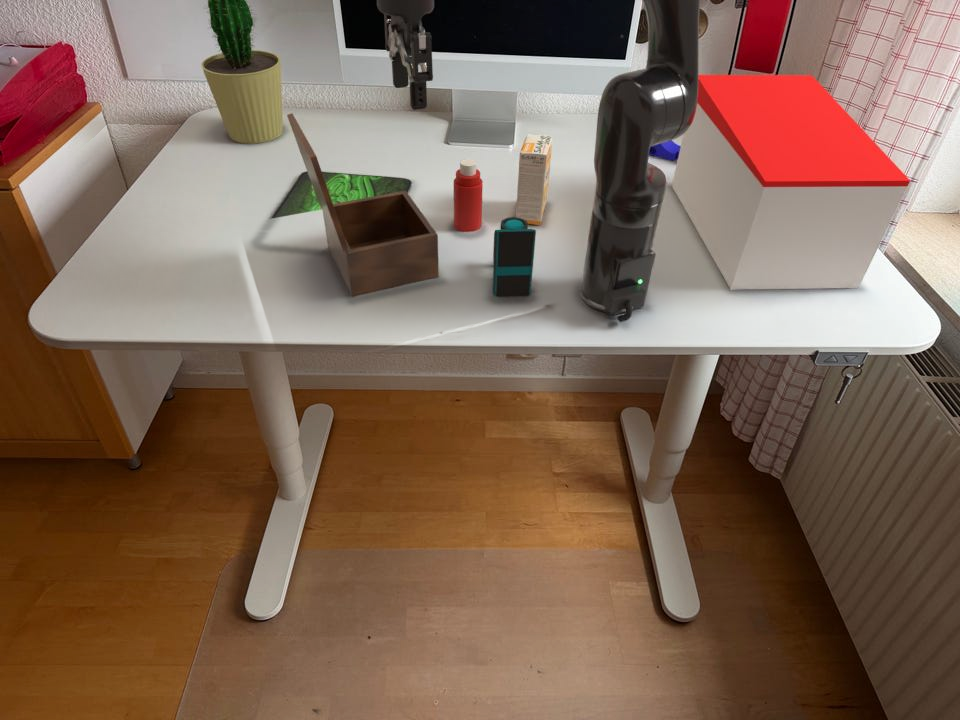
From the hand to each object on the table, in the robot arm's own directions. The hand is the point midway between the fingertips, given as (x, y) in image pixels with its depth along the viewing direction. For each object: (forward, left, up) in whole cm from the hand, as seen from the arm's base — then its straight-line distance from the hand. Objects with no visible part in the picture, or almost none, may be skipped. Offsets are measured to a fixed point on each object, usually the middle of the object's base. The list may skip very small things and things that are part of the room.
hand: (409, 97), depth 96 cm
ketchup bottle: (+1, -10, -24) cm, 26 cm away
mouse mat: (+15, +9, -25) cm, 30 cm away
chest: (-5, +7, -24) cm, 26 cm away
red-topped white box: (-18, -57, -25) cm, 64 cm away
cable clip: (+12, -62, -25) cm, 67 cm away
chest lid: (-5, +15, -8) cm, 18 cm away
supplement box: (+2, -23, -25) cm, 33 cm away
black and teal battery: (-16, -10, -25) cm, 31 cm away
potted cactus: (+55, +17, -25) cm, 63 cm away
